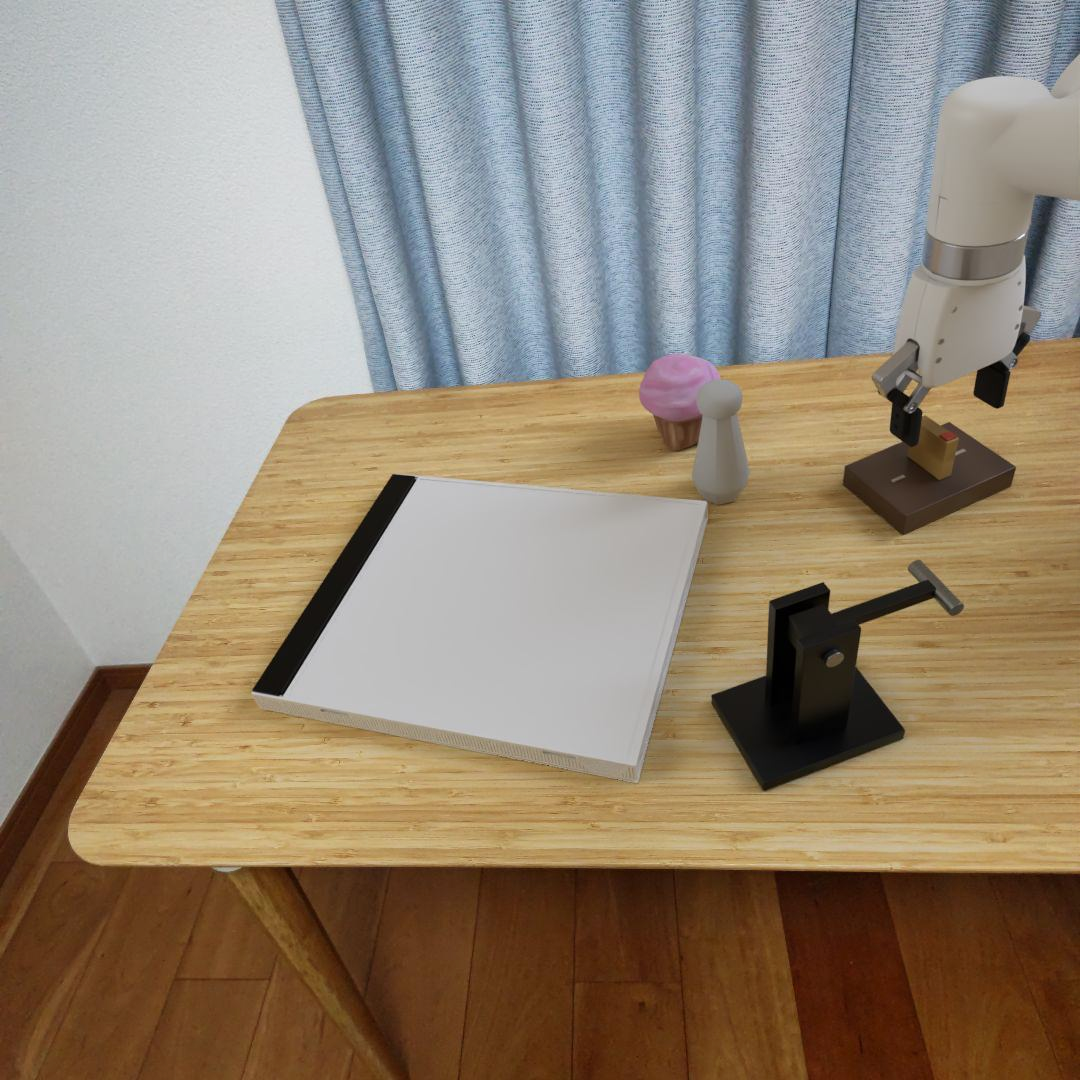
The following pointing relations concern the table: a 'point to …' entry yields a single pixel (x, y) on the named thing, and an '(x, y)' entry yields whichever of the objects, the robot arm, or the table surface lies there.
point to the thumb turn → (934, 449)
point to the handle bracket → (805, 700)
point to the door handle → (876, 605)
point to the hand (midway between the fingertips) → (946, 420)
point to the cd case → (498, 621)
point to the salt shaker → (720, 444)
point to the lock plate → (926, 482)
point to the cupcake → (676, 396)
